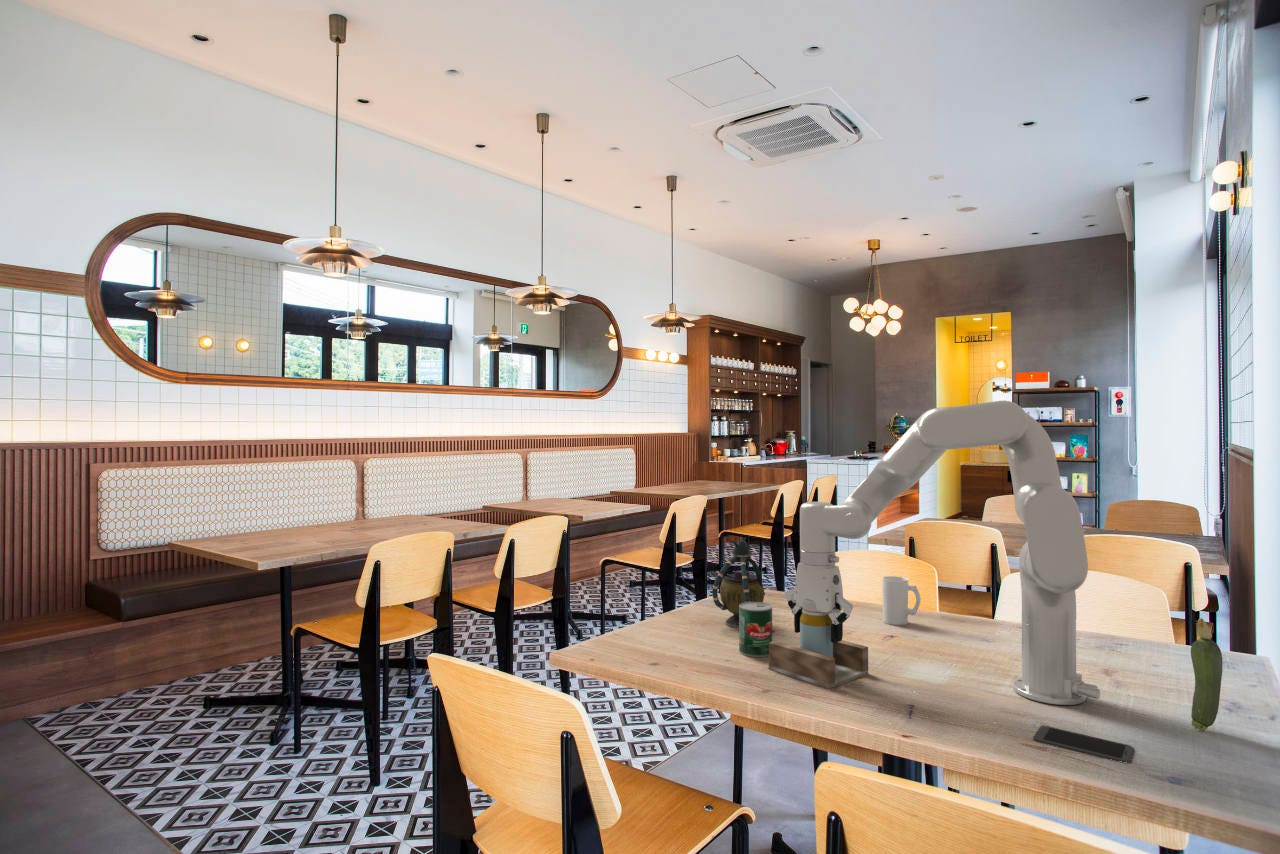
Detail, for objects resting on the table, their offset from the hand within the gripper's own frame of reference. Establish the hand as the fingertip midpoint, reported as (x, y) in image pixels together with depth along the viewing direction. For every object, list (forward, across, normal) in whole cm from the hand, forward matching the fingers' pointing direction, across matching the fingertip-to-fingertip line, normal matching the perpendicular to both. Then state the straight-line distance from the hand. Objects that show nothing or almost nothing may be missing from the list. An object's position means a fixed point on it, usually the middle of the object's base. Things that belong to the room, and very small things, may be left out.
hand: (817, 636), depth 158 cm
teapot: (+8, +38, -19) cm, 43 cm away
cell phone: (+8, -51, -4) cm, 52 cm away
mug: (+8, +9, -49) cm, 50 cm away
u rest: (+8, 0, 0) cm, 8 cm away
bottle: (+7, +1, 0) cm, 7 cm away
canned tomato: (+8, +18, 0) cm, 20 cm away
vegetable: (+8, -63, -26) cm, 69 cm away
